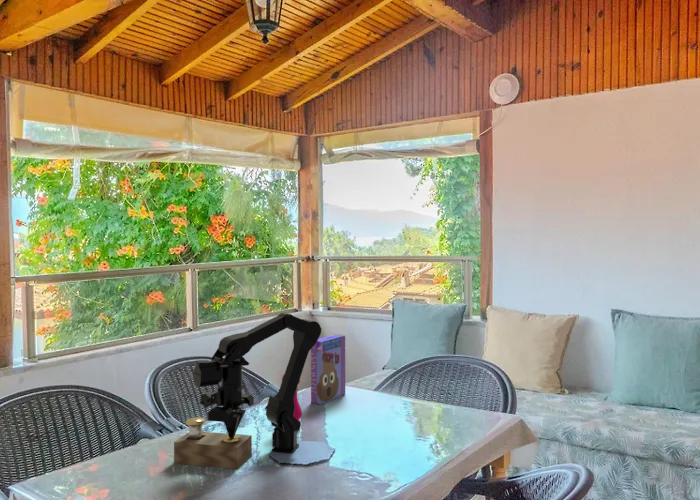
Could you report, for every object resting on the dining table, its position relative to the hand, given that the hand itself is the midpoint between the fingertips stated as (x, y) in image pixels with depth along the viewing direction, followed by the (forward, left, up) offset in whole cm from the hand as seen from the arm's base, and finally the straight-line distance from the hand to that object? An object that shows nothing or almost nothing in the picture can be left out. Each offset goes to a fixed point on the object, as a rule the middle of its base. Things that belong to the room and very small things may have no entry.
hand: (231, 437), depth 168 cm
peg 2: (0, 0, -7) cm, 7 cm away
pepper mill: (-7, -33, -7) cm, 34 cm away
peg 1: (+11, 0, -3) cm, 11 cm away
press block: (+5, 0, -7) cm, 9 cm away
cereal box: (-9, -70, -7) cm, 71 cm away
